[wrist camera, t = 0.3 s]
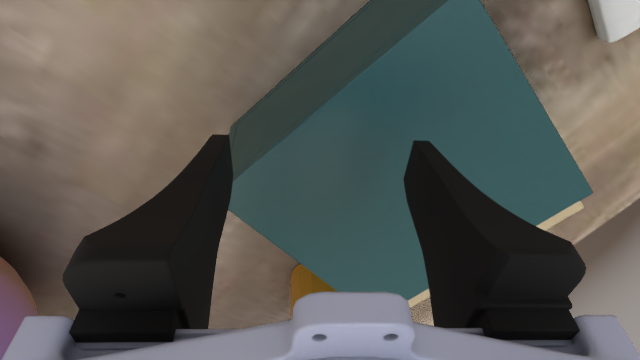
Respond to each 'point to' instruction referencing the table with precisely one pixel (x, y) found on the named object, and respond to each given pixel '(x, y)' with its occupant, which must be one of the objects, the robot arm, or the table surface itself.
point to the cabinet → (393, 141)
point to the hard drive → (615, 18)
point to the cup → (305, 285)
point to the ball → (12, 304)
